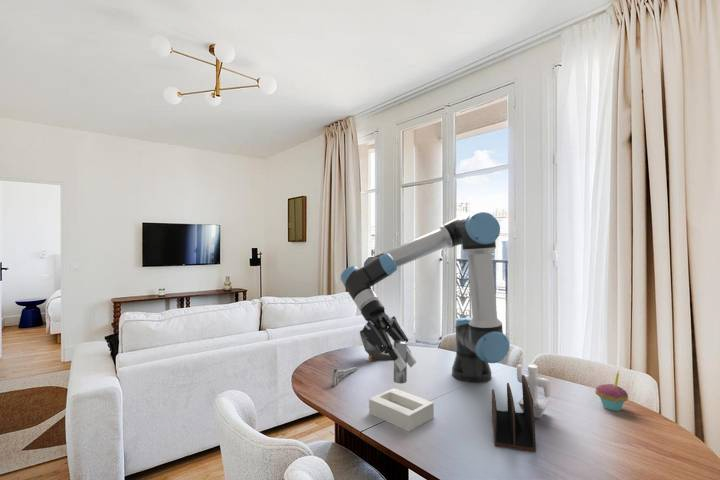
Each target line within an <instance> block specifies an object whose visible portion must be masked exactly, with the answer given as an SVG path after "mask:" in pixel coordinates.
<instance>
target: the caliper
mask: <svg viewBox="0 0 720 480" xmlns="http://www.w3.org/2000/svg"><path fill="white" fill-rule="evenodd" d="M357 370H358V368H357V367H355V366H354V367H350V368H347V369H340V370H339V368H333V372H332V377H331V378H332V379H331V380H332V386H333V387H336V386H338V385H339V381H340V379H342V378H344V376H345V375H347V374H351V373H352V374H353V373H354V372H356V371H357Z"/></svg>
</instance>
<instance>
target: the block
mask: <svg viewBox="0 0 720 480" xmlns="http://www.w3.org/2000/svg"><path fill="white" fill-rule="evenodd" d="M434 405H435V404H434V402H433V401H430V400H428V399H425V398H423V397H420V396H416V395H414V394H411V393H408V392H406V391H404V390H403V391H402V390H400V389H398V388H394V387H393V388H391V389H389V390H386V391H384V392H382V393H379V394H377V395H375V396H372V397H370V398H368V414H370V415H372V416H374V417H377V418H379V419H381V420H383V421H385V422H387V423H389V424H392V425H393V426H396V427H398V428H400V429H402V430H405V431H406V432H411V431H413V430H415V429H417V428H418V427H419V426H421V425H423V424H425V423H426V422H428V421H430V420H432V419H433V418H435V417H434V415H435V414H434V413H435V412H434V411H435V409H434V407H435V406H434Z"/></svg>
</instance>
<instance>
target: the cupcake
mask: <svg viewBox="0 0 720 480" xmlns="http://www.w3.org/2000/svg"><path fill="white" fill-rule="evenodd" d="M619 377H620V372H619V370H618V371H617V372H616V373H615V382H614V384H613V383H608V384H607V383H606V384H600V385H598V386H597V387H595V392H594V393H595V394H596V395H597V397H599V398H600V399H599V400H600V401H601V403H602V406H603V408H605V409H607V410H610V411H614V412H615V411H617V412H619V411H621V410H622V408H623V405H624V403H625V402H627V401H628V400H629V395H628V393H627V391H626V390H625V389H623V388H622V387H620V386H618V384H619Z"/></svg>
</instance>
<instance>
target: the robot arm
mask: <svg viewBox="0 0 720 480" xmlns="http://www.w3.org/2000/svg"><path fill="white" fill-rule="evenodd" d="M500 234H501V225H500V222H499V220H498V219H497V218H496V216H494V215H493V214H491V213H490V212H487V211H474V212H471V213H470V212H469V213H465V214H462V215H460V216H458V217H456V218H454V219H453V220H450V221H448V222H446V223H444V224H442V225H440V226H439V228H438V229H437V230H434V231H432V232H430V233H426V234H425V235H423V236H420V237H417V238H416V239H413V240H411V241H410V240H409V242H405V243H403V244H401V245H399V246H396V247H394V248H391V249H389V250H386V251H384V252H382V253H380V254H379V253H378V254H377V255H375V256H370V257H368V258H366V260H365V261H364V262H363V266H362V267H360V268H358V266H356V265H352V266H348V267H347V268H345V269H344V270H343V271H342V273H341V274H340V280H341V282H342V284H343V286H344V288H345V290H346V292H348V295H349V296H350V297H351V298H352V300H353V302H354V304H355V305H356V307H357V308H358V311H360V314H361V315H362V317H363V318H364V319H365V321H366V323H365V325H364V326H363V328H365V329H366V330H367V331H368V332H369V333H370V335H371V337H372V338H373V340H374V341H375V343H376V344H377V346H378V347H379V349H380V350H381V352H383V351H385V352H384V353H385V354H387V353H388V354H389V355H390V357H391V358H392V361H393V362H394V361H395V363H396V365H397V366H398V368H399V369H400V371H402V370H403V369H404V368H405V367H406V366H409V368H412V367H413V366H414V365H416V364H417V360H416V359H415V357H414V356H413V354H412V352H411V350H410V348H409V346H407V365H406V363H405V362H404V360H403V359H402V357H401V355H400V354H399V352H398V351H397V349H396V348H395V347H394V345H392V343H391V340H390V338H391V339H392V340H393V342H394V341H405V342H407V343H408V342H409V338H408V337H407V335H406V333H405V332H404V330H403V328H402V327H401V326H400V324H399V323H398V320H397V317H396V316H392V317H390V316H389V315H388V314H387V313H386V312H385V306H384V305H383V304H382V301H381V300H379V297H378V296H377V294H376V293H375V292H374V290H373V288H372V287H374V286H375V285H376V284H379V283H380V282H381V281H383V280H384V279H386V278H388V277H390V276H392V275H393V274H394V273H395V272H396V271H398V268H400V267H402V266H404V265H406V264H409V263H412V262H414V261H416V260H418V259H421V258H423V257H425V256H428V255H430V254H432V253H435V252H437V251H440V250H443V249H445V248H448V249H451V248H453V247H457V246H462V251H463V252H465V254H466V256H467V267H468V278H469V279H468V280H469V291H470V302H471V317H460V318H456V321H455V326H454V327H455V351H456V352H455V357H454V362H453V364H452V367H451V374H452V376H453V377H454V378H455V379H458V380H460V381H463V382H471V383H482V382H487V381H489V380H491V379H492V370H491V367H490V364H498V363H499V362H502V361H503V360H504V359H505V357H507V356H508V354H509V351H510V347H511V346H510V340H509V339H508V337H507V335H505V334H504V332H503V329H504V328H503V321H501V320H500V319H498V312H497V300H496V290H495V289H496V288H495V287H496V286H495V277H494V265H493V264H494V262H493V252H494V250H496V248H497V244H496V240H498V238H499V236H500ZM389 336H390V338H389Z"/></svg>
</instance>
